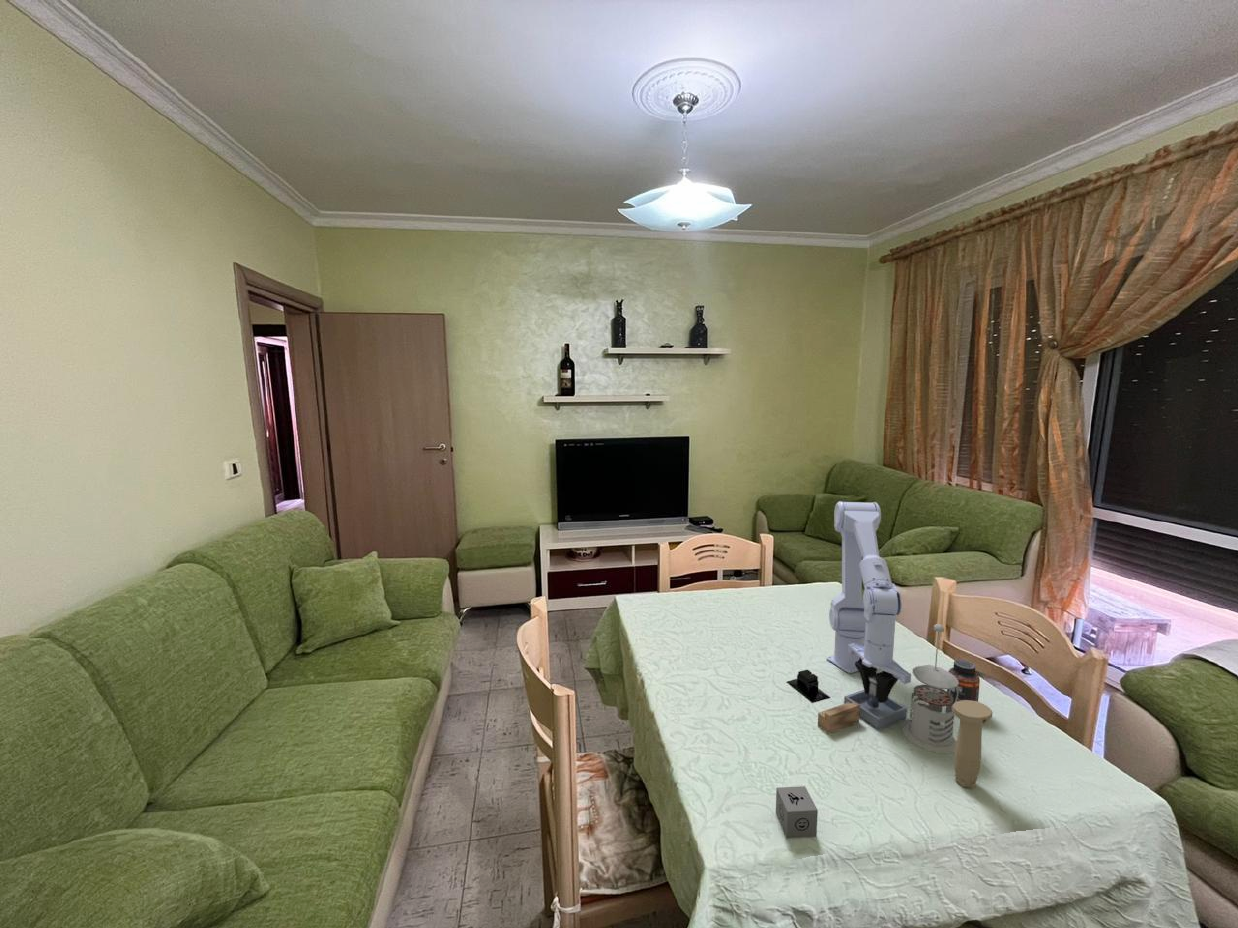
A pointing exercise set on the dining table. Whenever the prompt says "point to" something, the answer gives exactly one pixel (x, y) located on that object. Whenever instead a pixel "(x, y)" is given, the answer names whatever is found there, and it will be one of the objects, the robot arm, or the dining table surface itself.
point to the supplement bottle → (965, 681)
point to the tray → (878, 710)
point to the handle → (969, 740)
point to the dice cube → (796, 812)
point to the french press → (932, 708)
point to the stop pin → (873, 691)
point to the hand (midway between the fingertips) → (875, 696)
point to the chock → (839, 717)
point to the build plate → (808, 686)
